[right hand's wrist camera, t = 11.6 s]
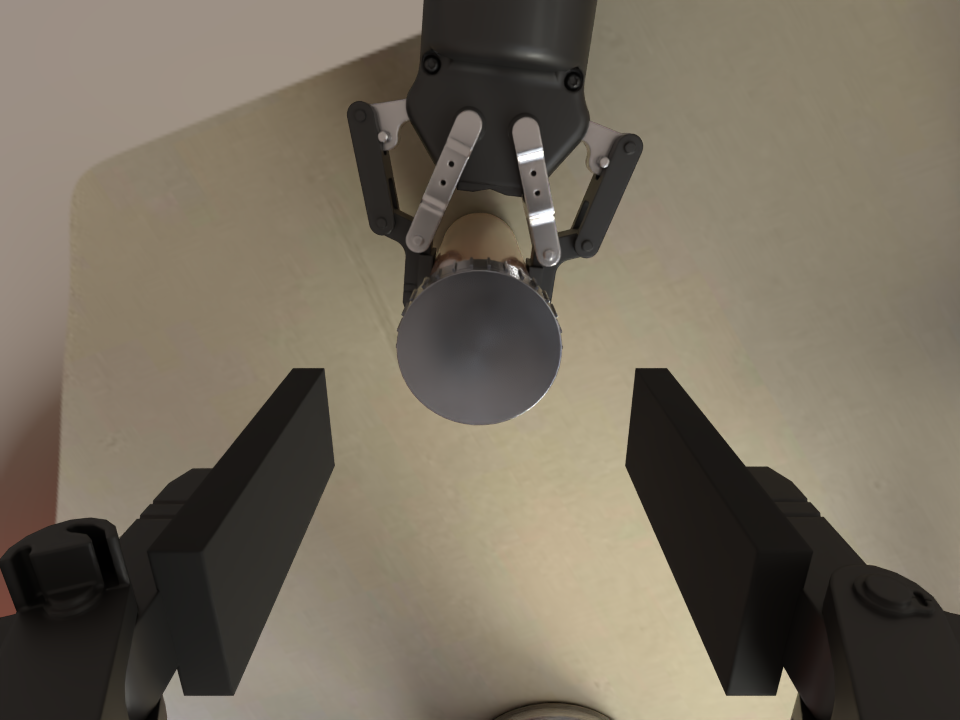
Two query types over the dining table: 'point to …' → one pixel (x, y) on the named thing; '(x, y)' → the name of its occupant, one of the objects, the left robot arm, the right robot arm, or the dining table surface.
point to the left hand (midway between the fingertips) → (474, 324)
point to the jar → (479, 242)
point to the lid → (479, 342)
